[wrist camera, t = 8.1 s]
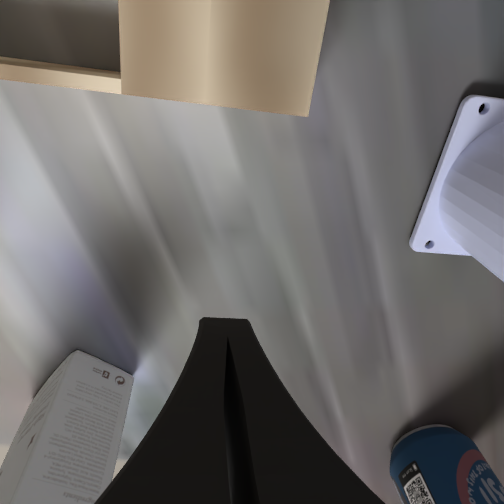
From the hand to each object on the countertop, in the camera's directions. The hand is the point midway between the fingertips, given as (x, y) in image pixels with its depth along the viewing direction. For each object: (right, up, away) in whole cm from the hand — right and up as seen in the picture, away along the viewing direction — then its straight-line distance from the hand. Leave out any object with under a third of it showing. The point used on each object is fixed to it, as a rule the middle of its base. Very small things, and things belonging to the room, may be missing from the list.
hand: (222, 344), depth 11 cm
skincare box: (-10, -6, +14) cm, 18 cm away
